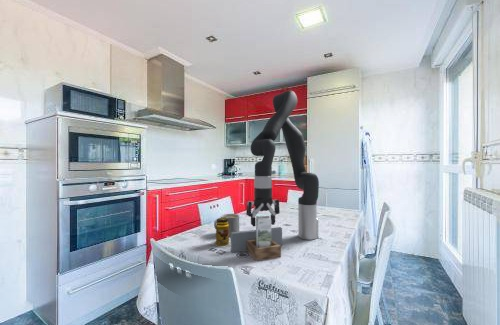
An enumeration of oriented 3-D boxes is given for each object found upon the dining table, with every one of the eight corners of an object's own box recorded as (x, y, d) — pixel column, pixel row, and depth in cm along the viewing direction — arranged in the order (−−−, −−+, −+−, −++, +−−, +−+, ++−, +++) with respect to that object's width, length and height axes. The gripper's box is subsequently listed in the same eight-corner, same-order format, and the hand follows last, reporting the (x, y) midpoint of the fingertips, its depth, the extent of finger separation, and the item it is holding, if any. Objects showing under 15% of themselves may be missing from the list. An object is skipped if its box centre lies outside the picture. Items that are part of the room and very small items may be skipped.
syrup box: (268, 248, 98) (268, 215, 98) (271, 254, 92) (271, 218, 92) (255, 249, 97) (255, 215, 98) (257, 254, 92) (257, 218, 92)
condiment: (223, 247, 102) (223, 221, 102) (209, 244, 106) (209, 219, 106) (232, 242, 108) (232, 217, 108) (218, 239, 112) (218, 215, 112)
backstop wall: (280, 244, 106) (280, 227, 106) (282, 245, 104) (282, 228, 104) (230, 250, 98) (230, 232, 98) (232, 252, 96) (232, 233, 96)
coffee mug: (241, 232, 125) (241, 214, 125) (236, 237, 115) (236, 218, 115) (218, 230, 128) (218, 213, 128) (211, 236, 118) (211, 217, 118)
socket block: (269, 247, 102) (269, 237, 102) (280, 257, 92) (280, 245, 92) (246, 250, 98) (246, 240, 98) (255, 260, 88) (255, 249, 88)
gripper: (250, 188, 89) (250, 229, 89) (282, 186, 94) (282, 225, 94) (244, 186, 96) (244, 224, 96) (274, 185, 101) (274, 221, 101)
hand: (263, 225), depth 95 cm, fingers open, 8 cm apart
